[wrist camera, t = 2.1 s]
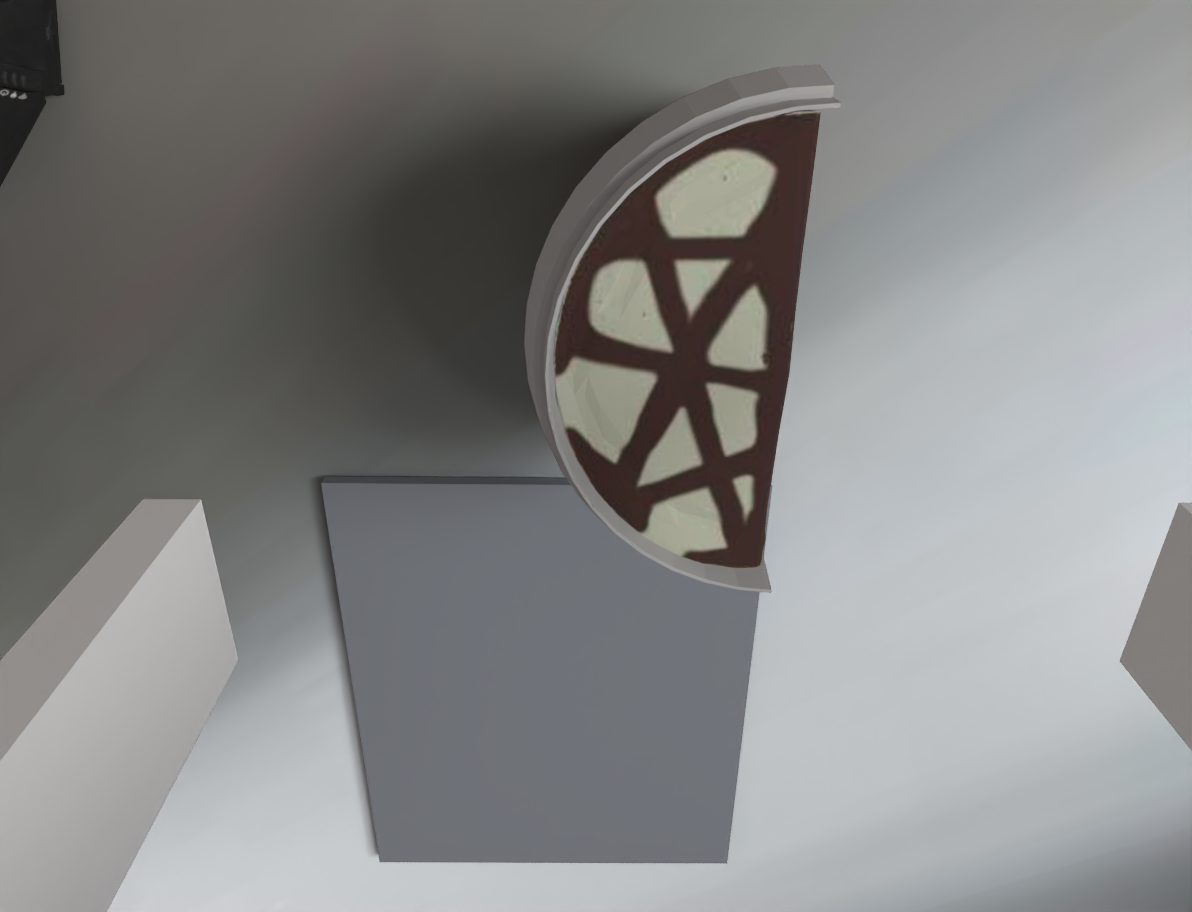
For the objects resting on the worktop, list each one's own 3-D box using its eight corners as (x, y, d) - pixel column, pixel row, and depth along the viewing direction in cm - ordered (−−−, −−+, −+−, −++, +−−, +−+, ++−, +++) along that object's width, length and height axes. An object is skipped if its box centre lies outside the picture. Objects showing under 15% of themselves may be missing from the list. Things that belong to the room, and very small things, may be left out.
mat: (769, 479, 31) (771, 486, 31) (725, 853, 41) (726, 863, 40) (324, 476, 31) (320, 483, 31) (381, 852, 41) (379, 862, 40)
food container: (540, 41, 25) (511, 62, 16) (755, 46, 25) (845, 71, 16) (542, 430, 30) (521, 606, 22) (717, 434, 31) (769, 610, 22)
